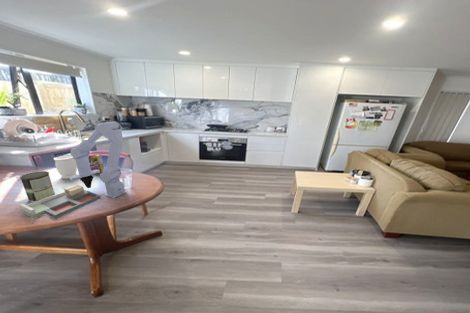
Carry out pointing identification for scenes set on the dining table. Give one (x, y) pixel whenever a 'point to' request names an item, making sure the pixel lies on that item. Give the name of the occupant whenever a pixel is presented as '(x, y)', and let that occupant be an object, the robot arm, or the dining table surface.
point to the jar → (66, 166)
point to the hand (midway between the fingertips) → (88, 187)
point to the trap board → (58, 204)
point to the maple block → (74, 190)
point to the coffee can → (37, 185)
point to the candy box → (96, 162)
